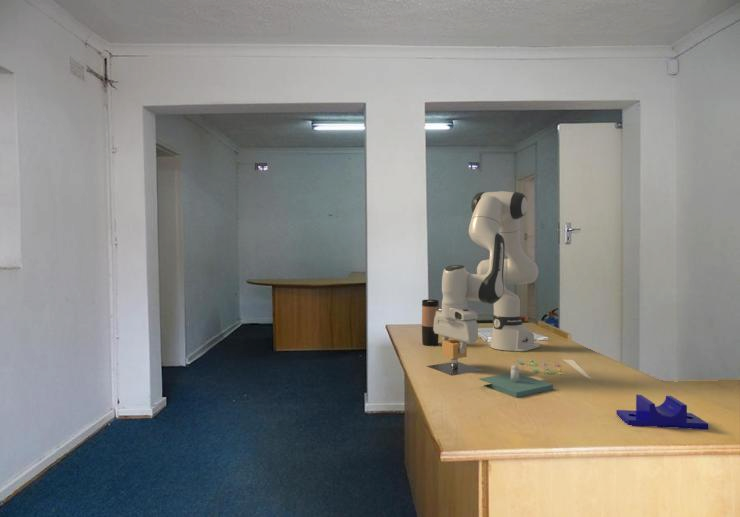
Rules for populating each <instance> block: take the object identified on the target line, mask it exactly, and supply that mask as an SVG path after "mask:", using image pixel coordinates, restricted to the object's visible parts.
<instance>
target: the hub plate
mask: <svg viewBox="0 0 740 517" xmlns="http://www.w3.org/2000/svg"><path fill="white" fill-rule="evenodd" d="M478 380H480V381H483V382H486V383H488V384H483V387H487V388H488V389H491V390H495V391H497V392H500V393H503V394H505V395H508V396H509V397H510V396H511V397H513V398H522V397H524V396H525V395H526V396H529V394H530V395H534V394H533V393H535V394H538V392H539V393H542V392H549V391H552V390H554V384H553V383H550V382H546V381H543V380H539V379H538V378H533V377H530V376H527V375H523V374H520V369H519V366H518V365H516V364H513V365H511V367H510V372H507V373H502V374H497V375H492V376H491V375H490V376H486V377H481V378H478ZM526 396H525V397H526Z"/></svg>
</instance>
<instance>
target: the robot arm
mask: <svg viewBox="0 0 740 517" xmlns="http://www.w3.org/2000/svg"><path fill="white" fill-rule="evenodd" d="M470 207H471V213H472V216H471V219H470V222H469V226H468V234H469V238H470V239H471V240H472V241H473V242H474V243H475V244H476V245H478V246H479V247H481V248H484V249H486V250H488V251H489V258H488V259H484V260H481V261H480V262H479V263H478V265H477V267H476V273H471V272H468V270H467V269H466V266H465V265H463V264H453V265H448V266H446V267H444V269H443V270H442V277H441V292H442V299H441V308H439V309H438V310H437V311H436V315H435V318H434V328H433V330H434V333H435V334H439V335H440V336H441V338H442V341H449V339H452V340H459V341H460V343H461V345H460V347H459V348H458V352H459V353H464V352H465V347H466V345H467V344H468V343H469V344H470V343H472V344H473V343H476V342H477V341H478V339H479V325H478V322H477V319H478V318H479V314H478V312H476V311H475V310H473V309H472V308H470V307H469V306H468V301H470V302H471V301H473V302H482V303H485V304H489V305H493V314H492V324H493V326H492V332H491V337H490V343H489V347H490V348H492V349H495V350H498V351H509V352H510V351H511V352H514V351H515V352H527V351H530V350H534V349H538V348H541V344H539V343H537V342H535V335H534V333H533V332H532V331H531V330H530V329H529V328H527V326H526V325H524V323H523V321H524V322H527V321H528V317H527V316H523V315H521V298H519V296H518V295H517V294H516V293H515V292H512V291H510V290H508V289H507V287H506V285H526V284H531V283H532V284H533V283H534V282H536V280H537V278H538V277H539V267H538V264H537V263H536V262H535V261H534V260H533V259H531V258H529V256H528V255H527V254H526V253H525V251H524V250H523V247H522V243H521V242H522V241H521V224H520V223H521V222H520V221H521V220H520V219H521V218H522V217H524V216H525V215H526V213H527V210H528V200H527V196H526V195H525V194H524V193H522V192H520V191H519V192H518V191H514V192H513V191H506V190H505V191H503V190H499V191H488V192H486V191H481V192H478V193H476V194H475V195H474V196H473V197H472V199H471V205H470ZM505 256H506V257H507V258H505Z"/></svg>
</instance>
